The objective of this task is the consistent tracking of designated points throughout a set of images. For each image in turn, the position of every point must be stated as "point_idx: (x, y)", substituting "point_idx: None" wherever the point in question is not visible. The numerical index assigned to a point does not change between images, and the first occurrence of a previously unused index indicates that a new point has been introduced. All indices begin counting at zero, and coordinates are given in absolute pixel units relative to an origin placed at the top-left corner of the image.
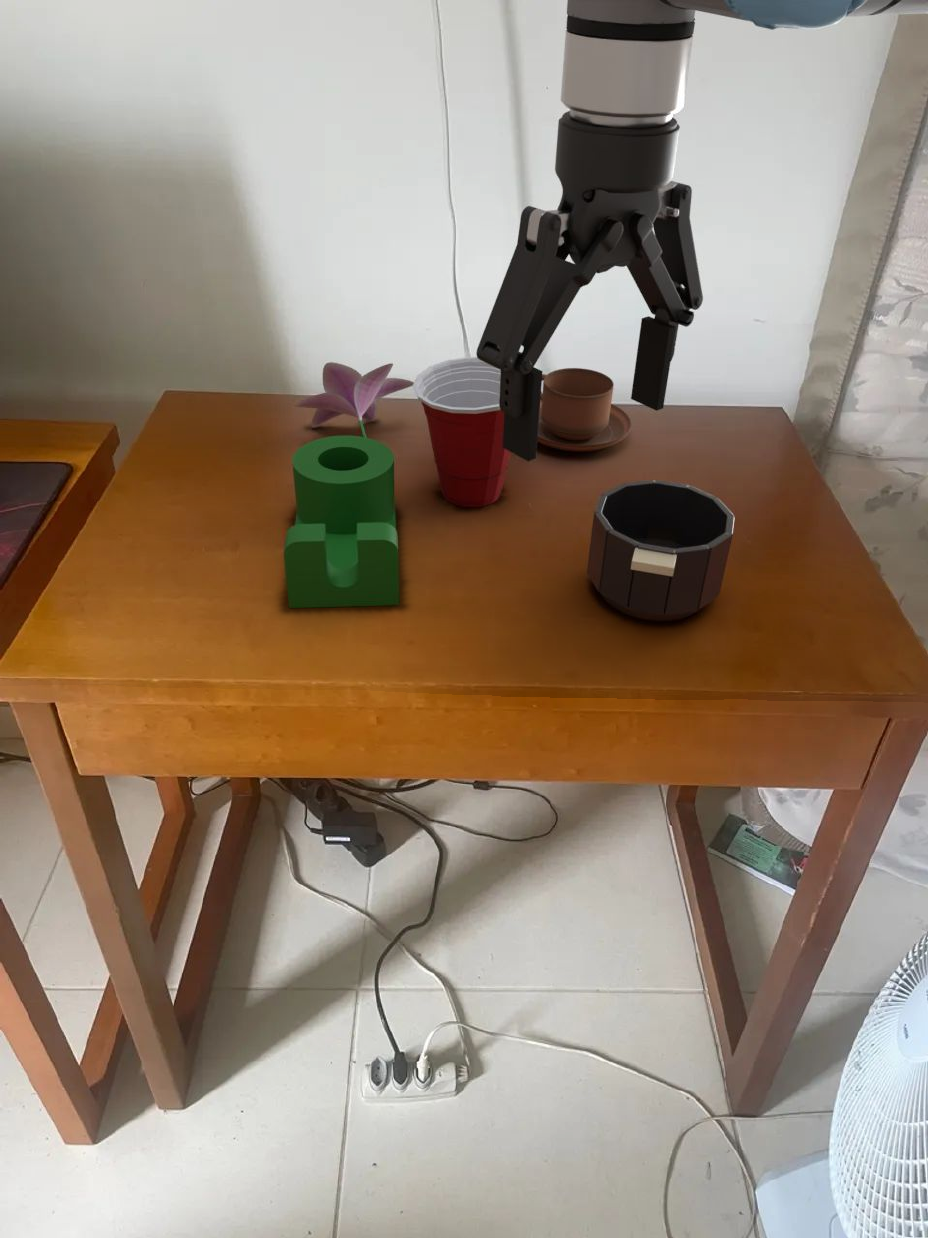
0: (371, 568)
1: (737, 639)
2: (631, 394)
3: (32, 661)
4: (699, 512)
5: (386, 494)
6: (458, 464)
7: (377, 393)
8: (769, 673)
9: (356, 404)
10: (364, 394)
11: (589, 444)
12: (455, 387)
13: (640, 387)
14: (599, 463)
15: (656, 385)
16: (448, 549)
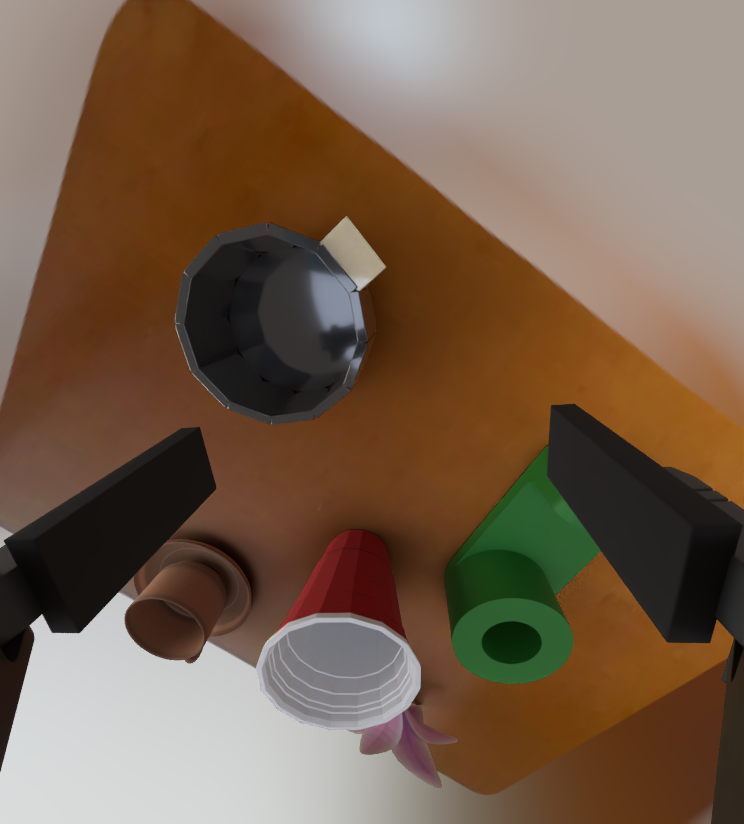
0: None
1: (280, 190)
2: (212, 492)
3: None
4: (205, 337)
5: (484, 577)
6: (388, 577)
7: None
8: (290, 113)
9: (400, 713)
10: (390, 722)
11: (198, 555)
12: (332, 683)
13: (194, 487)
14: (208, 526)
15: (171, 459)
16: (441, 492)
